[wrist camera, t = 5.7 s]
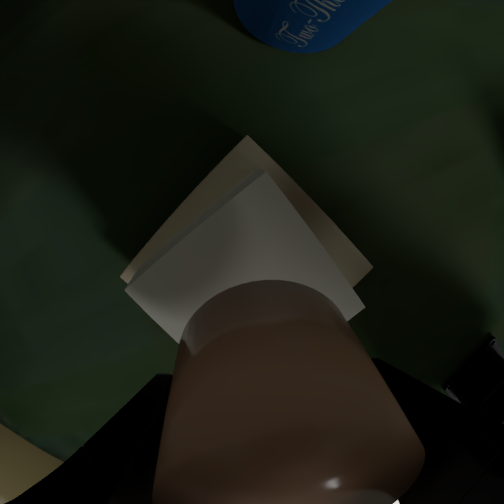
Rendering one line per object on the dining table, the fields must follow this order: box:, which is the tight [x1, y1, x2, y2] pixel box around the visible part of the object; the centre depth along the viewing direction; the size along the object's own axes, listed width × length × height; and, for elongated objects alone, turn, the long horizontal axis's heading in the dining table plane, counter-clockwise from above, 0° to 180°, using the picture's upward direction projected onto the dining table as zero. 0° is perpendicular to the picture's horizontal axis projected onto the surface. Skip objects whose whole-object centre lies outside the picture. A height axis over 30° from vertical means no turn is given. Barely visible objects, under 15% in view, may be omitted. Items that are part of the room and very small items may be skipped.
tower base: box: [120, 135, 373, 288], centre depth 17 cm, size 9×9×3 cm
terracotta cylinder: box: [152, 280, 425, 504], centre depth 7 cm, size 5×5×5 cm
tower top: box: [125, 167, 365, 343], centre depth 14 cm, size 7×7×3 cm
